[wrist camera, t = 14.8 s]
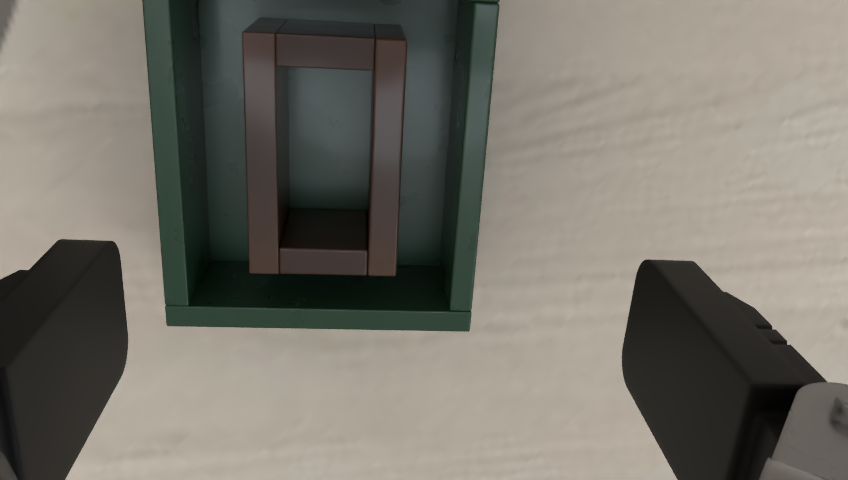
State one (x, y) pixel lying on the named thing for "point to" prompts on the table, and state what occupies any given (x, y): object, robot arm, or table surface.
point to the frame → (269, 148)
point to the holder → (319, 163)
